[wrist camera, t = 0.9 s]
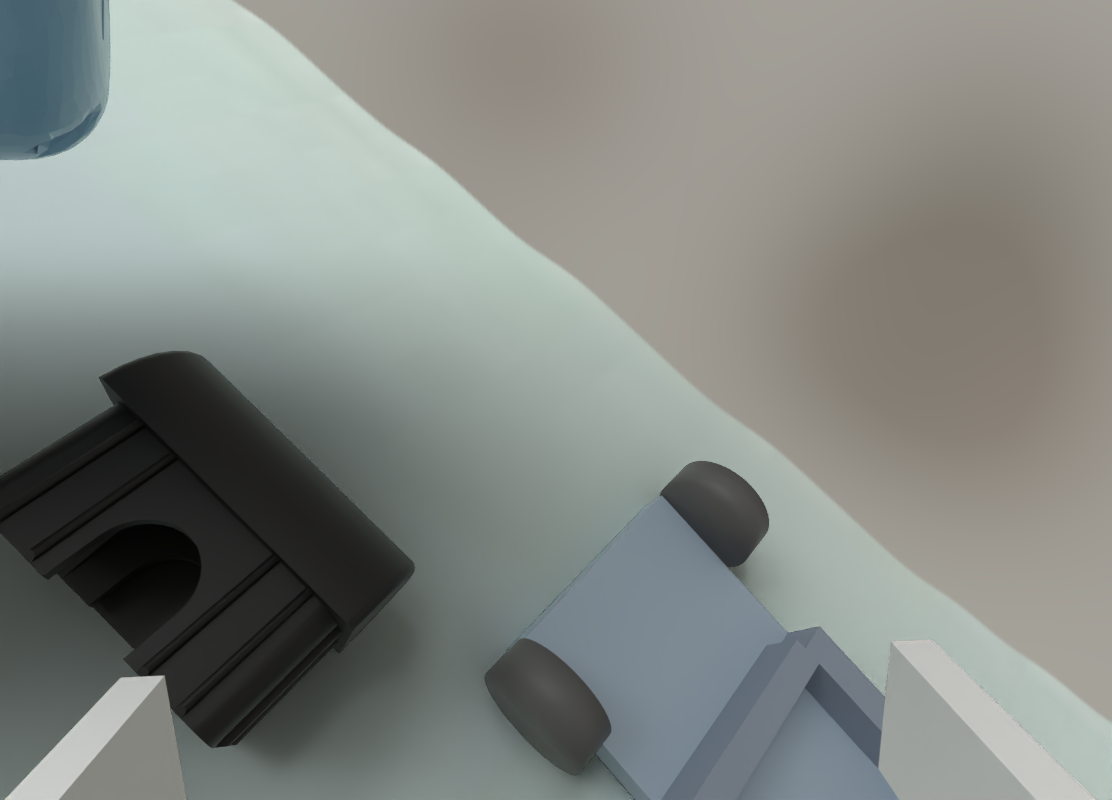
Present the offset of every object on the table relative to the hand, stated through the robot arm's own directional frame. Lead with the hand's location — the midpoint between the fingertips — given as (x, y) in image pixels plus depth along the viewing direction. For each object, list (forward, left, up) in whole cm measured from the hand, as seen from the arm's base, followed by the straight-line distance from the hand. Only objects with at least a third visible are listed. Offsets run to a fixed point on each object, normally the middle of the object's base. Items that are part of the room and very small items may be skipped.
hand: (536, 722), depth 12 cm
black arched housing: (-9, -1, -13) cm, 16 cm away
